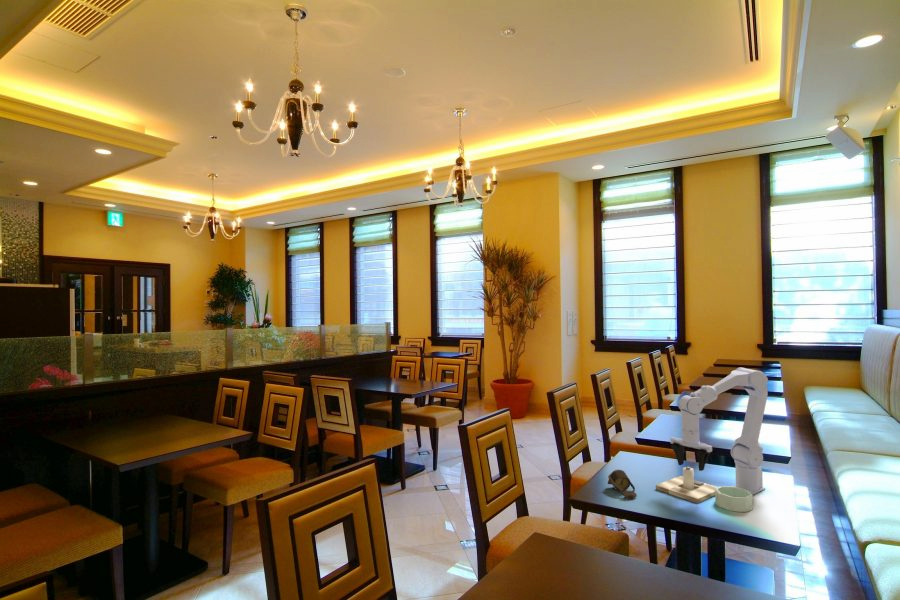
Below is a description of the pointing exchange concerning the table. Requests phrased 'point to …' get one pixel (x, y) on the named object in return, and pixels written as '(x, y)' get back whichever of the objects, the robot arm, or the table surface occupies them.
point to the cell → (688, 478)
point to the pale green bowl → (733, 499)
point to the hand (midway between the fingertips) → (691, 467)
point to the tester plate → (696, 495)
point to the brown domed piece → (621, 483)
